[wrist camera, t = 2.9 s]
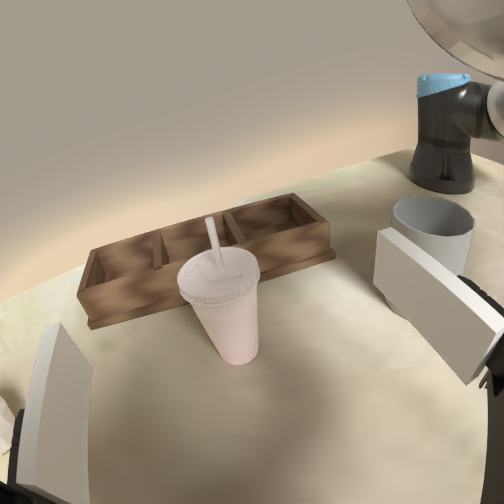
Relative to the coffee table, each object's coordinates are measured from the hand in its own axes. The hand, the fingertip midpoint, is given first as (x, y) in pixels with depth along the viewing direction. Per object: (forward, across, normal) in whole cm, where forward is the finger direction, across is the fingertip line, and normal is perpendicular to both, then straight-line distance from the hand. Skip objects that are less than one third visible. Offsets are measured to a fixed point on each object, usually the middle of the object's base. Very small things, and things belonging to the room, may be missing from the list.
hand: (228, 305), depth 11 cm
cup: (+9, +20, -15) cm, 27 cm away
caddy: (+26, -1, -15) cm, 30 cm away
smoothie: (+11, 0, -15) cm, 19 cm away
